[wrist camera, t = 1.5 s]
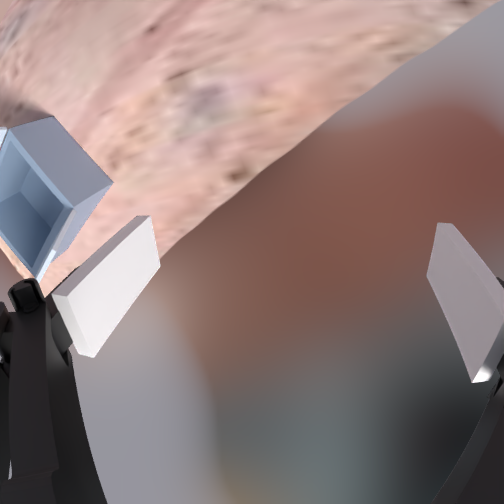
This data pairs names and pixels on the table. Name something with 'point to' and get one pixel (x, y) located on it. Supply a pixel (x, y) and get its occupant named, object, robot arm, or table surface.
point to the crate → (45, 189)
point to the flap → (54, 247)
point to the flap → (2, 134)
